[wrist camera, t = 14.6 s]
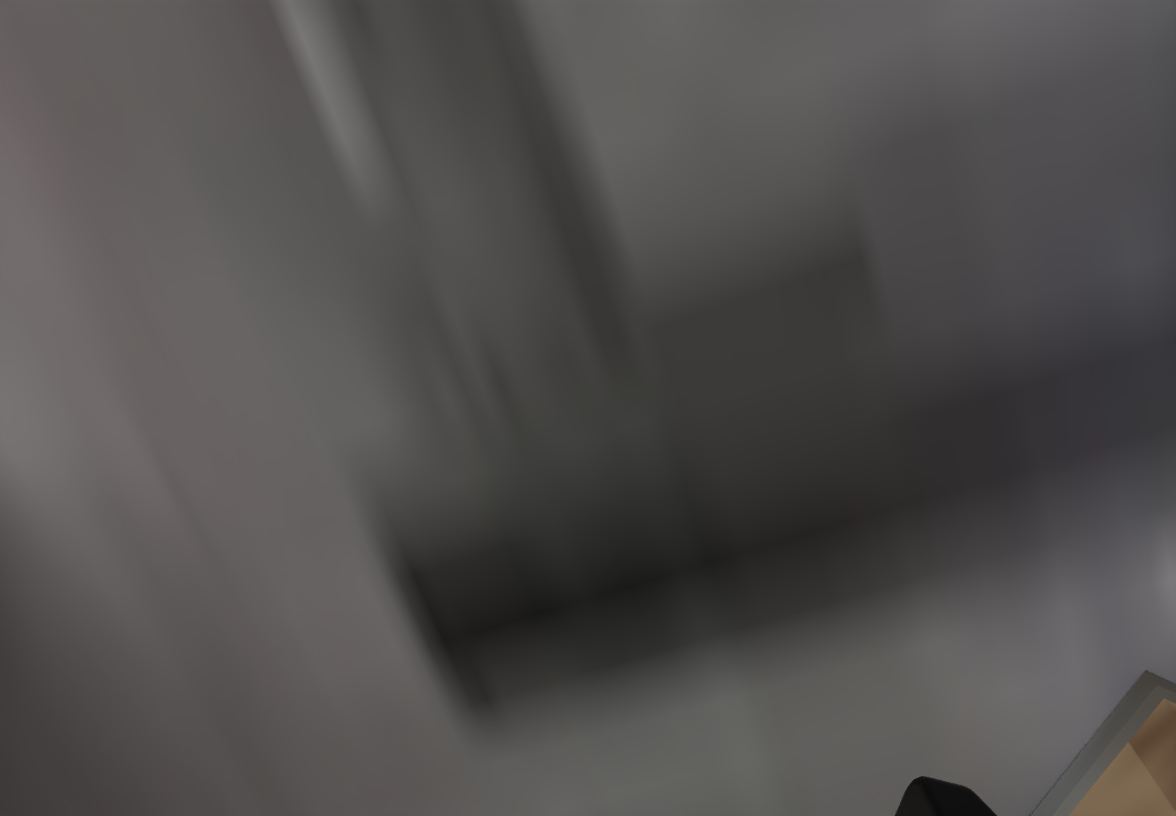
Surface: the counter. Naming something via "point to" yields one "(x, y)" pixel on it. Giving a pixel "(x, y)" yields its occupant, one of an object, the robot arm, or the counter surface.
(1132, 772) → the frame
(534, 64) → the counter surface
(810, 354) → the counter surface
